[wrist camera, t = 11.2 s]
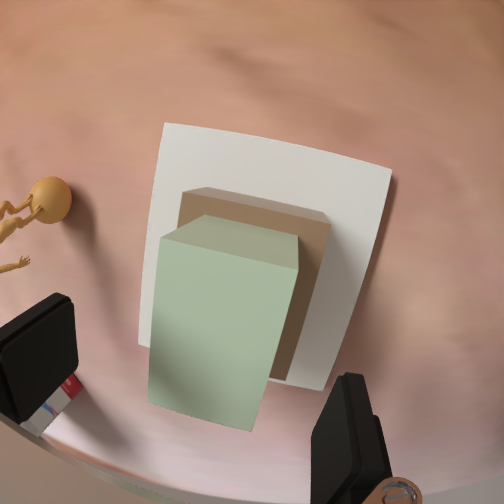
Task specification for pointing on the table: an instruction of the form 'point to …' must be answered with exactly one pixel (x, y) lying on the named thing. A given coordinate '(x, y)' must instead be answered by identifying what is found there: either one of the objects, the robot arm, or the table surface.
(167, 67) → the table surface
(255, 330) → the green brick
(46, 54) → the table surface
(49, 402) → the ink box
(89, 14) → the table surface
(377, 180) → the plate
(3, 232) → the figurine
